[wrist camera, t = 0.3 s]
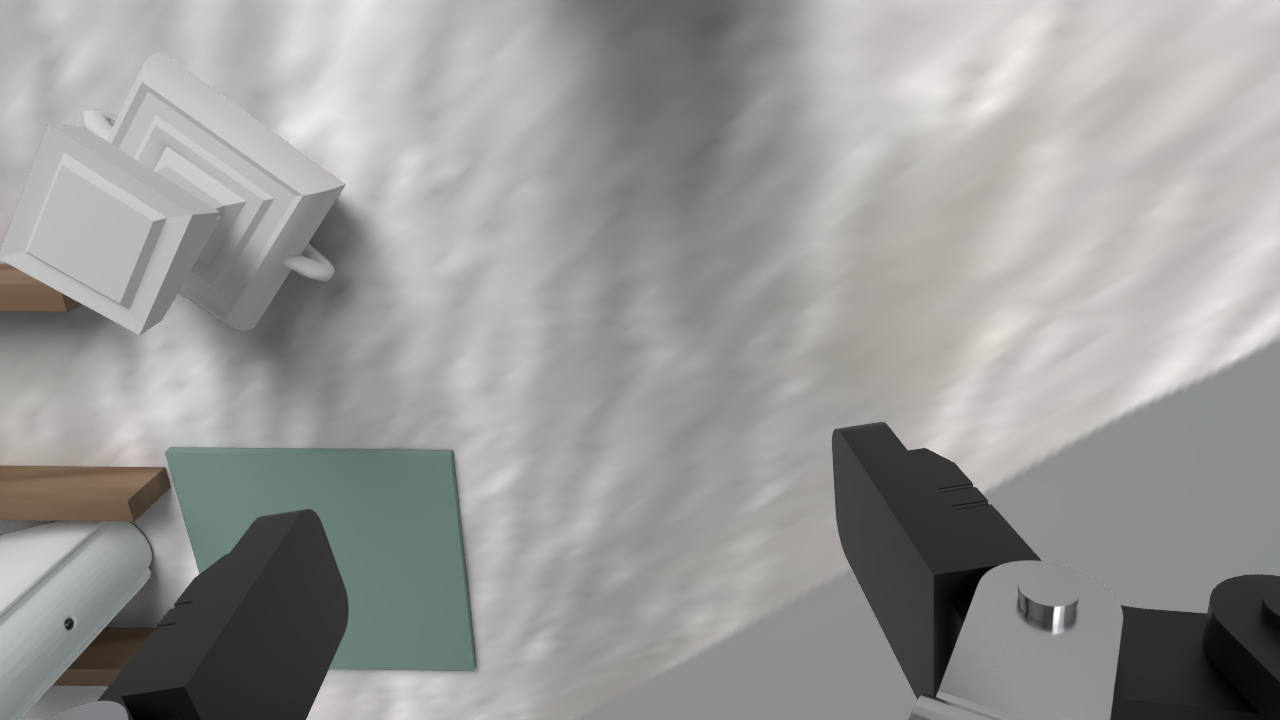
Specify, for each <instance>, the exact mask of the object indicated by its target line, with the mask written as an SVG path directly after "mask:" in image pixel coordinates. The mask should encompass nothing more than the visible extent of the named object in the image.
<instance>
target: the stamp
mask: <svg viewBox="0 0 1280 720" xmlns="http://www.w3.org/2000/svg"><path fill="white" fill-rule="evenodd" d="M82 119H83V124H84V127H76V126H65V125H54V124H48V125H47V128H46V130H45V133H44V136H43V138H42V141H41V144H40V146H39V149H38V152H37V154H36V157H35V160H34V162H33V165H32V168H31V170H30V173H29V176H28V178H27V181H26V184H25V186H24V189H23V192H22V194H21V197H20V200H19V202H18V205H17V208H16V210H15V213H14V216H13V218H12V221H11V224H10V226H9V229H8V232H7V234H6V237H5V240H4V242H3V245H2V248H1V250H0V260H2V261H4V262H6V263H8V264H9V265H11V266H13V267H15V268H17V269H19V270H21V271H22V272H24V273H26V274H28V275H30V276H32V277H33V278H35V279H37V280H39V281H41V282H43V283H44V284H46V285H48V286H50V287H52V288H54V289H55V290H57V291H59V292H61V293H63V294H65V295H66V296H68V297H70V298H72V299H74V300H76V301H77V302H79V303H81V304H83V305H85V306H87V307H88V308H90V309H92V310H94V311H96V312H98V313H99V314H101V315H103V316H105V317H107V318H109V319H110V320H112V321H114V322H116V323H118V324H120V325H121V326H123V327H125V328H127V329H129V330H131V331H132V332H134V333H136V334H138V335H141V334H142V333H144V332H145V331H147V330H148V329H150V328H151V327H152V326H154V325H155V324H157V323H158V322H160V321H161V320H162V319H163V317H164V315H165V314H166V312H167V310H168V309H169V307H170V305H171V304H172V302H173V300H174V298H175V297H176V295H177V293H179V294H181V295H183V296H184V297H186V298H187V299H189V300H190V301H192V302H193V303H195V304H197V305H198V306H200V307H201V308H203V309H204V310H206V311H207V312H209V313H211V314H212V315H214V316H215V317H217V318H218V319H220V320H221V321H223V322H224V323H226V324H228V325H229V326H231V327H232V328H234V329H235V330H241V331H247V330H250V329H252V328H255V327H256V325H257V323H258V322H259V320H260V319H261V317H262V316H263V314H264V312H265V311H266V309H267V308H268V306H269V305H270V303H271V301H272V300H273V298H274V297H275V295H276V294H277V292H278V290H279V289H280V287H281V286H282V284H283V283H284V281H285V279H286V278H287V276H288V275H289V273H290V272H291V270H294V271H296V272H297V273H299V274H301V275H302V276H304V277H307V278H311V279H315V280H319V281H323V282H327V281H329V280H330V279H331V278H332V276H333V275H334V274H335V268H334V267H333V266H332V264H331V263H330V262H329V261H328V260H327V259H326V258H325V257H324V256H323V255H321V254H320V253H319V252H318V251H317V250H316V249H314V248H313V247H312V246H311V245H310V244H309V242H310V240H311V238H312V237H313V235H314V234H315V232H316V231H317V229H318V227H319V226H320V224H321V223H322V221H323V220H324V218H325V216H326V215H327V213H328V212H329V210H330V209H331V207H332V205H333V204H334V202H335V201H336V199H337V197H338V196H339V194H340V193H341V191H342V190H343V188H344V186H345V185H346V184H345V183H343V182H342V181H340V180H339V179H338V178H336V177H335V176H334V175H332V174H331V173H329V172H328V171H327V170H325V169H324V168H323V167H321V166H320V165H318V164H317V163H316V162H314V161H313V160H311V159H310V158H309V157H307V156H306V155H305V154H303V153H302V152H300V151H299V150H298V149H296V148H295V147H293V146H292V145H291V144H289V143H288V142H287V141H285V140H284V139H282V138H281V137H280V136H278V135H277V134H276V133H274V132H273V131H271V130H270V129H269V128H267V127H266V126H264V125H263V124H262V123H260V122H259V121H258V120H256V119H255V118H253V117H252V116H251V115H249V114H248V113H247V112H245V111H244V110H242V109H241V108H240V107H238V106H237V105H235V104H234V103H233V102H231V101H230V100H229V99H227V98H226V97H224V96H223V95H222V94H220V93H219V92H217V91H216V90H215V89H213V88H212V87H211V86H209V85H208V84H206V83H205V82H204V81H202V80H201V79H200V78H198V77H197V76H195V75H194V74H193V73H191V72H190V71H188V70H187V69H186V68H184V67H183V66H182V65H180V64H179V63H177V62H176V61H175V60H173V59H172V58H170V57H169V56H168V55H166V54H165V53H164V52H162V51H160V52H158V53H155V54H151V55H150V56H149V58H148V59H147V60H146V62H145V63H144V65H143V66H142V68H141V70H140V72H139V74H138V76H137V78H136V80H135V82H134V85H133V87H132V89H131V91H130V93H129V95H128V97H127V99H126V101H125V103H124V105H123V107H122V109H121V111H120V113H119V115H118V117H117V116H115V115H112V114H110V113H108V112H106V111H104V110H100V109H97V110H85V111H84V112H83V113H82Z"/></svg>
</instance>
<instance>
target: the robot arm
mask: <svg viewBox="0 0 1280 720" xmlns="http://www.w3.org/2000/svg"><path fill="white" fill-rule="evenodd" d="M832 453H833V470H834V488H835V506H836V519H837V526H838V532H839V536H840V540H841V544H842V547H843V550H844V553H845V556H846V558H847V560H848V562H849V564H850V566H851V568H852V570H853V572H854V574H855V576H856V578H857V580H858V582H859V584H860V586H861V588H862V590H863V592H864V594H865V596H866V598H867V600H868V602H869V604H870V606H871V608H872V610H873V612H874V614H875V616H876V618H877V620H878V622H879V624H880V625H881V628H882V630H883V631H884V634H885V636H886V638H887V640H888V642H889V644H890V645H891V648H892V650H893V652H894V654H895V656H896V658H897V660H898V662H899V664H900V666H901V668H902V670H903V672H904V674H905V676H906V678H907V680H908V682H909V684H910V686H911V688H912V690H913V692H914V694H915V696H916V698H917V702H916V703H915V706H914V708H913V710H912V712H911V715H910V717H909V720H1280V576H1274V575H1244V576H1238V577H1233V578H1230V579H1227V580H1225V581H1223V582H1221V583H1220V584H1218V585H1217V586H1216V587H1215V588H1214V589H1213V591H1212V593H1211V596H1210V601H1209V607H1208V613H1207V614H1205V613H1192V612H1179V611H1166V610H1153V609H1142V608H1133V607H1127V606H1122V605H1120V603H1119V602H1118V600H1117V598H1116V597H1115V596H1114V595H1113V594H1112V592H1111V591H1110V590H1109V589H1107V588H1106V587H1105V586H1104V585H1103V584H1102V583H1100V582H1099V581H1097V580H1096V579H1094V578H1092V577H1091V576H1089V575H1087V574H1085V573H1083V572H1081V571H1078V570H1076V569H1073V568H1070V567H1068V566H1064V565H1060V564H1056V563H1051V562H1044V561H1041V560H1040V558H1039V557H1038V556H1037V555H1036V554H1035V553H1034V552H1033V551H1032V549H1031V548H1030V547H1029V546H1028V545H1027V544H1026V543H1025V541H1024V540H1023V539H1022V538H1021V537H1020V536H1019V535H1018V534H1017V533H1016V531H1015V530H1014V529H1013V528H1012V527H1011V526H1010V525H1009V524H1008V522H1007V521H1006V520H1005V519H1004V518H1003V517H1002V516H1001V515H1000V513H999V512H998V511H997V510H996V509H995V508H994V507H993V506H992V505H989V504H988V500H987V499H986V498H985V497H984V495H983V494H982V493H981V492H980V491H979V490H978V489H977V488H976V487H975V488H974V487H973V483H972V482H971V481H970V480H969V479H968V478H967V476H966V475H965V474H964V473H963V472H962V471H961V470H960V469H959V467H958V466H957V465H956V464H955V463H953V462H952V461H950V460H948V459H946V458H944V457H942V456H940V455H938V454H936V453H934V452H932V451H930V450H928V449H926V448H922V449H916V450H909V451H908V450H907V449H906V448H905V446H904V445H903V444H902V443H901V441H900V440H899V439H898V438H897V436H896V435H895V434H894V433H893V431H892V430H891V429H890V428H889V426H888V425H887V424H886V423H884V422H878V423H871V424H865V425H858V426H852V427H845V428H839V429H835V430H834V431H833V435H832ZM174 605H175V608H174V609H170V610H169V611H168V613H167V614H166V615H165V616H164V618H163V619H162V620H161V621H160V623H159V624H158V625H157V626H158V630H156V631H153V632H152V633H151V634H150V635H149V637H148V638H147V639H146V640H145V642H144V643H143V644H142V645H141V647H140V648H139V649H138V650H137V652H136V653H135V654H134V656H133V657H132V658H131V659H130V661H129V662H128V663H127V664H126V666H125V667H124V668H123V669H122V671H121V672H120V673H119V675H118V676H117V677H116V678H115V680H114V681H113V682H112V683H111V685H110V686H109V687H108V688H107V690H106V691H105V692H104V694H103V695H102V696H101V697H100V699H99V700H98V701H96V702H90V703H85V704H82V705H78V706H75V707H73V708H70V709H67V710H65V711H62V712H60V713H58V714H56V715H54V716H52V717H50V718H48V719H46V720H306V718H307V716H308V714H309V712H310V709H311V707H312V705H313V703H314V701H315V698H316V696H317V694H318V692H319V689H320V687H321V685H322V683H323V681H324V678H325V676H326V674H327V672H328V669H329V667H330V665H331V663H332V660H333V658H334V656H335V654H336V652H337V649H338V647H339V645H340V643H341V640H342V638H343V636H344V634H345V631H346V628H347V623H348V615H349V605H348V596H347V592H346V588H345V585H344V583H343V580H342V577H341V574H340V572H339V569H338V566H337V563H336V561H335V558H334V555H333V552H332V550H331V547H330V544H329V541H328V538H327V536H326V533H325V530H324V527H323V525H322V522H321V520H320V518H319V516H318V515H317V514H316V512H314V511H313V510H311V509H305V510H298V511H292V512H285V513H279V514H272V515H266V516H260V517H258V518H257V519H255V521H254V522H253V523H252V524H251V525H250V527H249V528H248V529H247V531H246V532H245V533H244V535H243V536H242V537H241V539H240V540H239V541H238V543H237V544H236V545H235V547H234V548H233V549H232V550H231V552H230V553H229V554H225V555H224V556H223V557H221V558H220V559H219V560H217V561H216V562H215V563H214V564H212V565H211V566H210V567H208V568H207V569H206V570H205V571H203V572H202V573H201V574H199V575H198V576H197V577H196V578H194V580H193V581H192V582H191V583H190V585H189V586H188V587H187V588H186V590H185V591H184V592H183V594H182V595H181V596H180V597H179V599H178V600H177V601H176V602H175V604H174Z"/></svg>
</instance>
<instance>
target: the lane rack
mask: <svg viewBox="0 0 1280 720" xmlns="http://www.w3.org/2000/svg"><path fill="white" fill-rule="evenodd" d="M80 305H82V304H81V303H79V302H77V301H76V300H74V299H72V298H70V297H68V296H66V295H65V294H63V293H61V292H59V291H57V290H55V289H54V288H52V287H50V286H48V285H46V284H44V283H43V282H41V281H39V280H37V279H35V278H33V277H32V276H30V275H28V274H26V273H24V272H22V271H21V270H19V269H17V268H15V267H13V266H11V265H9V264H0V311H58V312H67V311H69V310H72V309H74V308H76V307H78V306H80ZM169 488H170V485H169V481H168V478H167V474H166V471H165V468H163V467H68V466H0V520H39V521H129V522H134V521H135V520H136V519H137V518H138V517H139V516H140V515H141V514H142V513H144V512H145V511H146V510H147V509H148V508H149V507H150V506H151V505H152V504H153V503H154V502H155V501H156V500H157V499H158V498H159V497H161V496H162V495H163V494H164V493H165V492H166V491H167V490H168V489H169ZM156 630H158V629H121V628H104V629H103V630H102V631H101V632H100V634H99V635H98V636H97V637H96V638H95V639H94V640H93V641H92V642H91V643H90V645H89V646H88V647H87V648H86V649H85V650H84V651H83V652H82V653H81V654H80V656H79V657H78V658H77V659H76V660H75V661H74V662H73V663H72V664H71V665H70V666H69V667H68V669H67V670H66V671H65V672H64V673H63V674H62V675H61V676H60V677H59V678H58V680H57V681H56V682H55V683H54V684H53V685H70V686H110V685H111V683H112V682H113V681H114V680H115V678H116V677H117V676H118V675H119V673H120V672H121V671H122V669H123V668H124V667H125V666H126V664H127V663H128V662H129V661H130V659H131V658H132V657H133V656H134V654H135V653H136V652H137V650H138V649H139V648H140V647H141V645H142V644H143V643H144V642H145V640H146V639H147V638H148V637H149V635H150V634H151V633H152V632H153V631H156Z"/></svg>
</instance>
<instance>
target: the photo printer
mask: <svg viewBox="0 0 1280 720" xmlns="http://www.w3.org/2000/svg"><path fill="white" fill-rule="evenodd" d="M151 561H152V553H151V549H150V546H149V544H148V541H147V540H146V538H145V537H144V535H143V534H142V533H141V532H140V530H139V529H138V528H137V527H136V526H134V525H133V524H132V523H131V522H129V521H56V522H51V523H47V524H43V525H38V526H34V527H30V528H26V529H22V530H18V531H15V532H11V533H7V534H3V535H0V720H21V719H22V718H23V717H24V716H25V715H26V714H27V713H28V712H29V710H30V709H31V708H32V707H33V706H34V705H35V704H36V703H37V702H38V701H39V699H40V698H41V697H42V696H43V695H44V694H45V693H46V692H47V691H48V690H49V688H50V687H51V686H52V685H53V684H54V683H55V682H56V681H57V680H58V678H59V677H60V676H61V675H62V674H63V673H64V672H65V671H66V670H67V669H68V667H69V666H70V665H71V664H72V663H73V662H74V661H75V660H76V659H77V658H78V657H79V656H80V654H81V653H82V652H83V651H84V650H85V649H86V648H87V647H88V646H89V645H90V643H91V642H92V641H93V640H94V639H95V638H96V637H97V636H98V635H99V634H100V632H101V631H102V630H103V629H104V628H105V627H106V626H107V625H108V624H109V623H110V621H111V620H112V619H113V618H114V617H115V616H116V615H117V614H118V613H119V612H120V611H121V610H122V609H123V608H124V606H125V605H126V604H127V603H128V602H129V601H130V600H131V599H132V598H133V597H134V596H135V594H136V593H137V592H138V591H139V590H140V589H141V588H142V587H143V586H144V584H145V583H146V582H147V581H148V579H149V578H150V576H151V572H150V569H149V565H150V564H151Z"/></svg>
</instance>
